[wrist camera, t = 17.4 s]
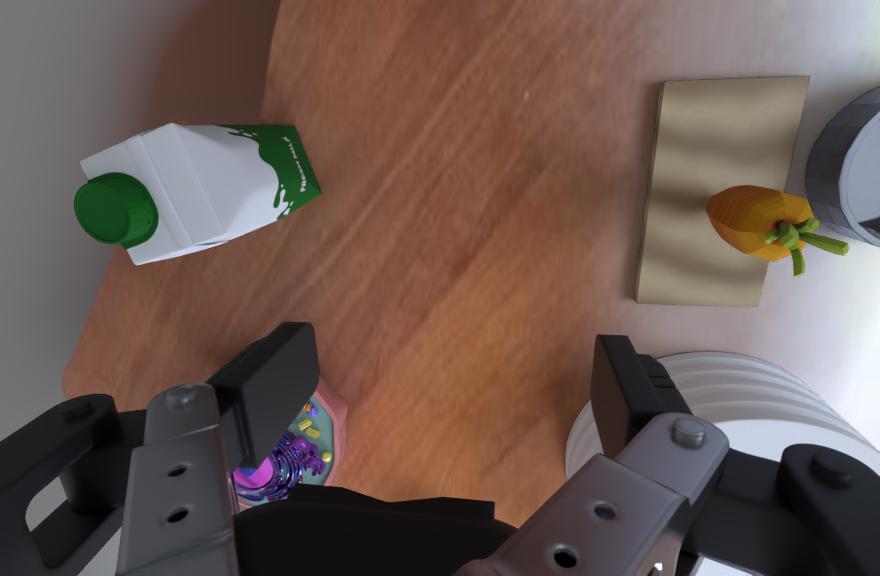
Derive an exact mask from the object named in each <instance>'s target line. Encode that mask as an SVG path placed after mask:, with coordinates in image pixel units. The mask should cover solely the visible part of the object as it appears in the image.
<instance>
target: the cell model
mask: <svg viewBox="0 0 880 576" xmlns="http://www.w3.org/2000/svg"><path fill="white" fill-rule="evenodd" d="M347 411H348V406H347V403H346V401H345V400H344V398H343V397H342V396H341V395H340V394H338V393H337V392H336V391H335V390H334V389H333V388H332V387H331V386H330V384H329V383H328V382H327V381H326V380H325V379H324V378H323V377H322V376H321V375H320V374H319V382H318V386H317V389H316V391H315V392H314V394H313V395H312V397H311V398H310V399H309V401H308V402H307V403H306V405H305V406H304V407H303V409H302V410H301V412H300V413H299V414H298V416H297V417H296V418H295V420H294V421H293V422H292V424H291V425H290V426H289V428H288V429H287V431H286V432H285V433H284V435H283V436H282V437H281V439H280V440H279V441H278V443H277V444H276V446H275V447H274V448H273V450H272V451H271V452H270V454H269V455H268V456H267V458H266V459H265V460H264V462H263V463H262V465H261V466H260V467H259V469H249V468H239V467H237V469H236V470H235V471H234V472H233V474H234V479H235V483H236V489H237V495H238V501H239V504H240V505H243V506H245V507H248V508H251V507H254V506H257V505H260V504H263V503H266V502H270V501H275V500H280V499H286V498H287V496H288V495H289V493H290V491H291V490H292V488H293V487H294V485H295V483H302V484H313V485H323V486H329V485H330V483H331V481H332V479H333V478H334V476H335V474H336V472H337V470H338V468H339V467H340V465H341V462H342V460H343V458H344V454H345V450H346V417H347Z"/></svg>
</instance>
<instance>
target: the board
mask: <svg viewBox="0 0 880 576" xmlns="http://www.w3.org/2000/svg"><path fill="white" fill-rule="evenodd" d="M809 80H810V76H786V77H761V78H735V79H710V80H684V81H664V82H661V83H660V91H659V99H658V107H657V115H656V123H655V131H654V140H653V148H652V156H651V164H650V172H649V180H648V188H647V196H646V204H645V212H644V220H643V228H642V236H641V244H640V253H639V261H638V269H637V277H636V285H635V293H634V300H635V302H636V303H637V304H666V305H700V306H734V307H759V303H760V299H761V294H762V290H763V285H764V281H765V276H766V272H767V267H768V263H769V261H768V260H765V259H761V258H758V257H754V256H751V255H748V254H744V253H742V252H740V251H738V250H737V249H735V248H734V247H732V246H731V245H729V244H728V243H727V242H726V241H724V240H723V239H722V238H721V237H720V236H719V235H718V233H717V232H716V231H715V229H714V227H713V226H712V224H711V222H710V219H709V217H708V214H707V212H706V207H707V205H708V202H709V200H710V198H711V196H713V195H715V194H717V193H719V192H721V191H723V190H725V189H728V188H730V187H733V186H739V185H753V186H760V187H765V188H770V189H774V190H778V191H782V192H784V191H785V187H786V182H787V178H788V174H789V169H790V165H791V160H792V156H793V151H794V147H795V142H796V138H797V133H798V129H799V124H800V120H801V115H802V111H803V106H804V102H805V98H806V93H807V89H808V84H809Z"/></svg>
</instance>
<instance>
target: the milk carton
mask: <svg viewBox="0 0 880 576" xmlns="http://www.w3.org/2000/svg"><path fill="white" fill-rule="evenodd" d="M80 165H81V167H82V169H83V171H84V172H85V174H86V175H87V177H88V179H89V180H88V183H87V184H85V185H83V186H82V187H81V188H80V189H79V190H78V191H77V193H76V196H75V201H74V209H75V213H76V216H77V219H78V221H79V223H80V225H81V226H82V227H83V229H84V230H85V231H86V232H87V233H88V234H89V235H90V236H91V237H93V238H94V239H96V240H97V241H100V242H102V243H106V244H117V243H121V244H122V246H123V247H124V249H125V250H126V249H127V251H128V253H129V255H130V257H131V259H132V261H133V262H134V264H135V265H140V264H144V263H148V262H154V261H159V260H164V259H169V258H173V257H178V256H182V255H186V254H189V253H193V252H197V251H200V250H204V249H207V248H210V247H214V246H217V245H220V244H223V243H226V242H228V241H227V240H230V239H233V238H236V237H239V236H241V235H244V234H246V233H248V232H251V231H253V230H256V229H258V228H260V227H263V226H265V225H267V224H270V223H272V222H275V221H277V220H279V219H281V218H283V217H285V216H286V215H288V214H290V213H291V212H293V211H295V210H296V209H298V208H299V207H301V206H302V205H304V204H305V203H307V202H309V201H310V200H312V199H313V198H315V197H317V196H318V195H320V194H321V193H322V192H321V190H320V187H319V185H318V182H317V180H316V177H315V175H314V173H313V170H312V168H311V165H310V163H309V160H308V158H307V155H306V153H305V150H304V148H303V145H302V143H301V140H300V138H299V135H298V133H297V130H296V128H295V126H277V125H190V126H183V125H178V124H174V123H169V124H167V125H164V126H162V127H159V128H155V129H151V130H148V131H145V132H142V133H140V134H138V135H135V136H133V137H131V138H129V139H127V140H125V141H123V142H121V143H119V144H117V145H114V146H112V147H110V148H108V149H105V150H103V151H101V152H99V153H97V154H94V155H92V156H90V157H88V158H86V159H83V160H81V161H80ZM224 241H226V242H224ZM221 242H222V243H221ZM217 243H218V244H217Z"/></svg>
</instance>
